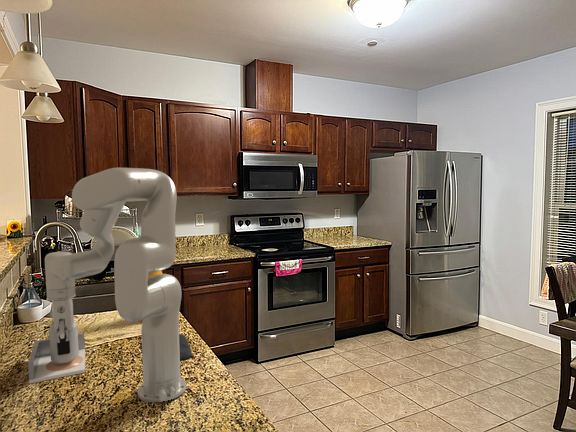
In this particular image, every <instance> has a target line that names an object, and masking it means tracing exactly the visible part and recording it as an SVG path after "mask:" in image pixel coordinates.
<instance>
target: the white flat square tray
mask: <svg viewBox="0 0 576 432" xmlns="http://www.w3.org/2000/svg"><path fill="white" fill-rule="evenodd" d="M85 373H86V348H85V349H81V350H79V355H78V356H77V357H76V359H74V360H73V361H70V362H67V363H62V364H57V363H54V362H53V361H51V355H47V356H41V357H40V359H39V363H38V367H37V371H36V374H35V378H34V379H33V380H29V379H28V382H29V384H35V382H36V383H40V382H44V381H45V382H46V381H49V380H50V381H51V380H55V379H60V378H65V377H69V376H75V375H79V374H85Z"/></svg>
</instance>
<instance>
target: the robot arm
mask: <svg viewBox="0 0 576 432" xmlns="http://www.w3.org/2000/svg"><path fill="white" fill-rule="evenodd" d="M177 194H178V193H177V188H176V186H175V183H174V181H173V180H172V179H171V177H170V176H168V174H166V173H164V172H162V171H160V170H157V169H151V168H143V167H141V168H139V167H112V168H107V169H105V170H101V171H99V172H96V173H94V174H91V175H88V176H85V177H83V178H81V179H80V180H79V181H77V182H76V184H74V187H73V188H72V192H71V199H72V202H73V203H72V204H74V206H75V207H76V208H77V209H79V210H80V211H84V212H83V214H82V216H81V218H80V220H79V227H80V229H81V230H82V231H83V232H84V233H85V234H87V235H89V236H91V237H93V238H96V241H95V243H94V245H93V248H92V249H91V250H86V251H79V252H76V253H75V252H74V253H71V252H70V251H55V252H50V253H47V254H46V255H45V257H44V270H45V272H44V273H45V286H46V299H47V301H49V302H50V301H51V308H52V310H51V311H52V320H53V321H52V323H53V322H54V330H55V333H57V336H58V342H57V351H58V355H64V354H69V353H70V341H69V340H68V330H71V331H72V330H73V329H74V322H75V321H74V320H75V319H74V318H75V317H74V304H73V303H74V301H73V298H75V297H76V281H75V280H79V279H82V278H86V277H91V276H94V275H97V274H100V273H103V271H104V270H105V269H106V268H107V267H108V264H109V263H110V261H111V259H112V257H113V255H114V252H115V255H114V260H113V261H114V263H113V264H114V265H113V266H114V267H113V269H114V270H113V271H114V275H113V276H114V302H115V303H114V304H115V306H116V307H115V308H116V311H117V313H118V314H119V316H120V317H121V318H122V319H123V320H124V321H125V322H130V323H137V322H139V321H142V322H141V323H142V324H141V354H142V356H141V357H142V375H143V376H142V377H143V379H142V381H143V382H142V384H141V385H139V387H138V388H137V392H136V393H137V398H139V399H140V400H141V401H143V402H146V403H150V402H158V403H164V402H163V401H165V402H169V401H171V399H172V400H174V399H176V398H179V397H180V396H181V395H182V394H184V393H185V392H186V390H187V380H185V378H183V377H181V360H180V350H179V334H180V309H181V304H182V303H181V301H182V295H183V294H182V286H181V284H180V282H179V280H178V278H176V277H175V276H174V275H171V274H167V273H162V274H158V275H154V276H151V277H148V274H151V273H154V272H158V271H163V270H166V269H169V268H170V267H171V266H173V264H174V262H175V261H176V260H175V259H176V211H177V209H176V208H177V199H178V198H177V197H178V195H177ZM140 201H141V202H143V201H146V202H147V204H146V205H145V207H144V209H143V212H142V214H141V217H140V218H141V219H140V229H141V230H140V235H139V237H132V238H130V239H127V240H124V241H123V242H121V243H120V245H119V246H118V248H117V249H116V251H115V240H114V236H113V234H112V230H113V229H114V227H115V225H116V223H117V221H118V218H119V216H120V214H121V212H122V211H123V208H124V206H125V204H126V202H140ZM64 319H65V323H64ZM73 321H74V322H73ZM64 328H66V329H67V330H64ZM65 333H66V334H65ZM168 400H169V401H168Z"/></svg>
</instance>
